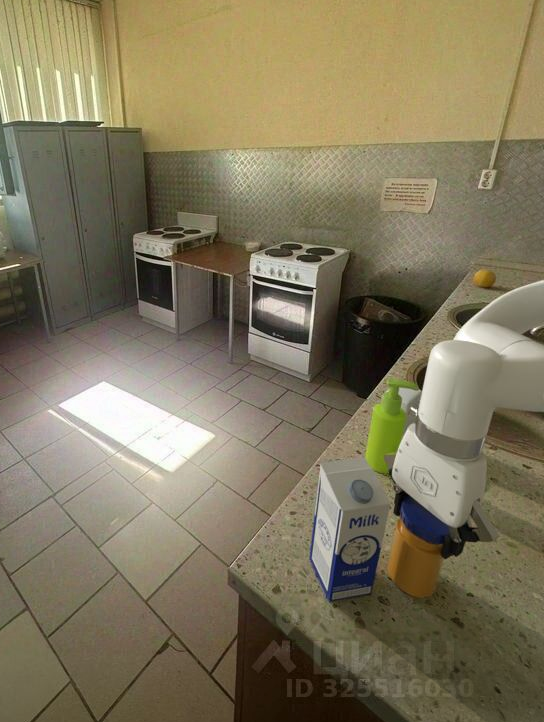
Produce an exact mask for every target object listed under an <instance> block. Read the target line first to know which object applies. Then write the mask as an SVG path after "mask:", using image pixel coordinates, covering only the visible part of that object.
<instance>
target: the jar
mask: <svg viewBox="0 0 544 722" xmlns="http://www.w3.org/2000/svg"><path fill="white" fill-rule="evenodd" d="M442 546H443V544H435V543H431V542H427V541H425V540H423V539H420V538H419V537H417V536H416V535H414V534H413V533H412V532H410V531H409V530H408V529H407V527H406V526H405V525H404V523H403V521H402V519H401V518H400V517H399V518H398V519H397V522H396V524H395V529H394V534H393V537H392V543H391V546H390V550H389V556H388V560H387V564H386V565H387V567H386V568H387V569H386V570H387V573H388V576H389V577H390V579H391V581H392V583H394V584H395V585H396V586H397V588H399V589H400V591H402V592H404V593H406V594H408V595H410V596H413V597H415V598H421V599H423V598H428V597H431V596H432V595H433V594H434V593H435V592H436V588H437V586H438V582H439V579H440V575H441V572H442V569H443V566H444V562H445V559H444V558H443V557H442V556H441V554H440V553H441V549H442Z"/></svg>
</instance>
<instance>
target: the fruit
mask: <svg viewBox="0 0 544 722" xmlns="http://www.w3.org/2000/svg"><path fill="white" fill-rule="evenodd" d="M472 278H473V279H472V280H473V283H474V285H475V286H477V287H480V288H490V287H492V286H493V285H494V284H495V283H496V281H497V280H496V279H497V276H496V273H495V272H493V271H491V270H489V269H481V270H478V271H476V273H474V275H473V277H472Z"/></svg>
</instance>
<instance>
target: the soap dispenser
mask: <svg viewBox="0 0 544 722" xmlns="http://www.w3.org/2000/svg"><path fill="white" fill-rule="evenodd" d="M386 385H387V387H388V389H389V392H386V391H384V392H383V393H382V395H383V398H382V397H381V401H382V403H381V402H379V403H376V404H375V405H374V406H373V409H372V415H371V420H370V427H369V432H368V438H367V444H366V451H365V456H364V457H365V459H366V460H367V462H368V463H369V465H370V467H371V468H372V469H373V471H374V472H375V473H376V472H377V473H379V474H386V475H387V474H388V475H389V468H388V467H387V465H386V462H385V460H384V458H383V456H384V455H386V454H388V453H392V452H397V451H398V448H399V446H400V443H401V440H402V435H403V430H404V426H405V421H406V413H405V411H404V410H403V409H401V403H402V397H401V396H400V395H399V394H398V392H399V388H407V389H412V390H415V391H418V390H420V388H419V386H418V384H417V383H414V382H412V381H408V380H404V379H395V378H387V379H386Z"/></svg>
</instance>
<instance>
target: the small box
mask: <svg viewBox="0 0 544 722" xmlns="http://www.w3.org/2000/svg"><path fill="white" fill-rule="evenodd" d="M385 392H389V388H388V389H387V390H386V391H385ZM398 394H399V395H400V396H401V397H402V403H401V409H403V410H404V411H405V413H406V421H405V426H404V430H403V435H402V439H403V437H404V434H405V433H406V431H407V429H408V427H409V426H410V425H411V424H413V423H415V420H416V416H415V415H414V414H413V413H411V412H410V409H411V407H412V406H413V405H414V404H416V405H418V406H419V405H420V400H421V395H422V390H421V389H419V390H418V391H415V390H412V389H407V388H399V392H398ZM382 398H383V394H382V395H381V399H382ZM380 403H382V400H381V402H380ZM401 441H402V440H401Z"/></svg>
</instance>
